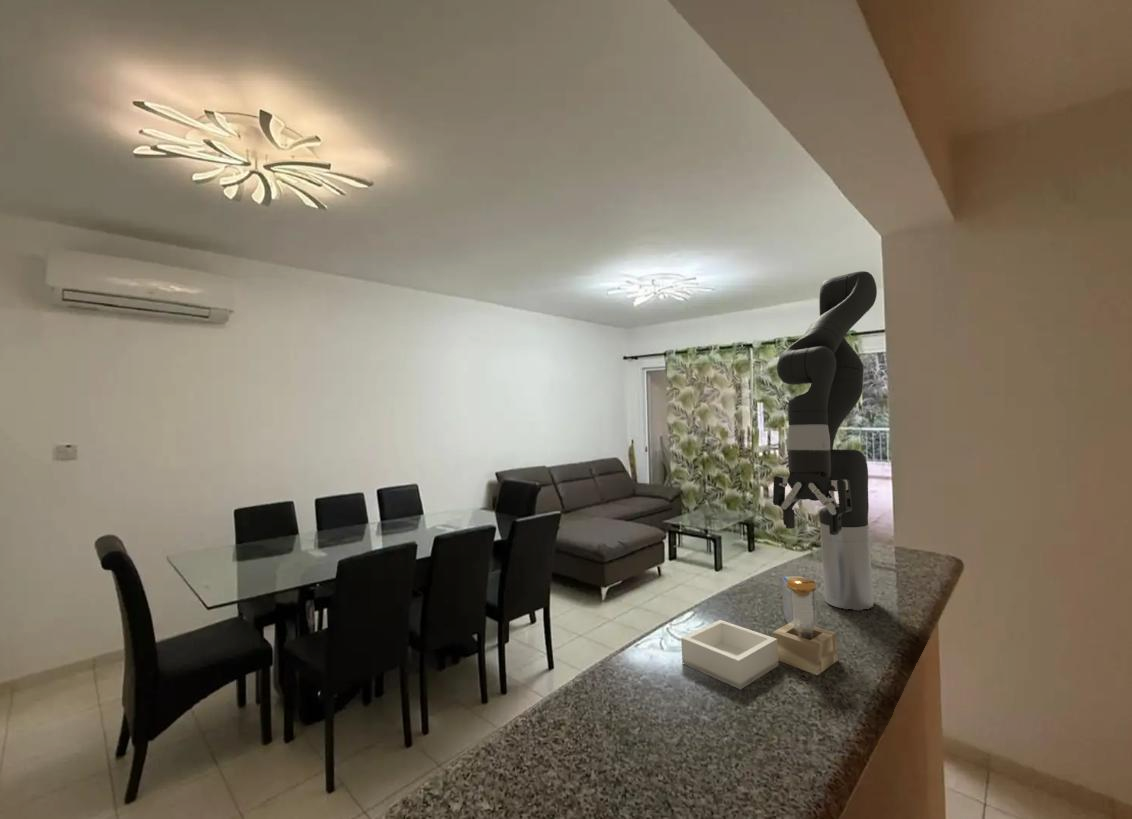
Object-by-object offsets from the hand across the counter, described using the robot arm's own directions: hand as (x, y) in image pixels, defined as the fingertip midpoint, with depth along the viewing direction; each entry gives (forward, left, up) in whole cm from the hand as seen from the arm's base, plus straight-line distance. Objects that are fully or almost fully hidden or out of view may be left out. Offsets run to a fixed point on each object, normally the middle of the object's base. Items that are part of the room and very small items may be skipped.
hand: (811, 531), depth 95 cm
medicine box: (+2, -2, -19) cm, 19 cm away
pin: (+14, +5, -18) cm, 24 cm away
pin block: (+14, +5, -18) cm, 24 cm away
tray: (+25, -3, -18) cm, 31 cm away
